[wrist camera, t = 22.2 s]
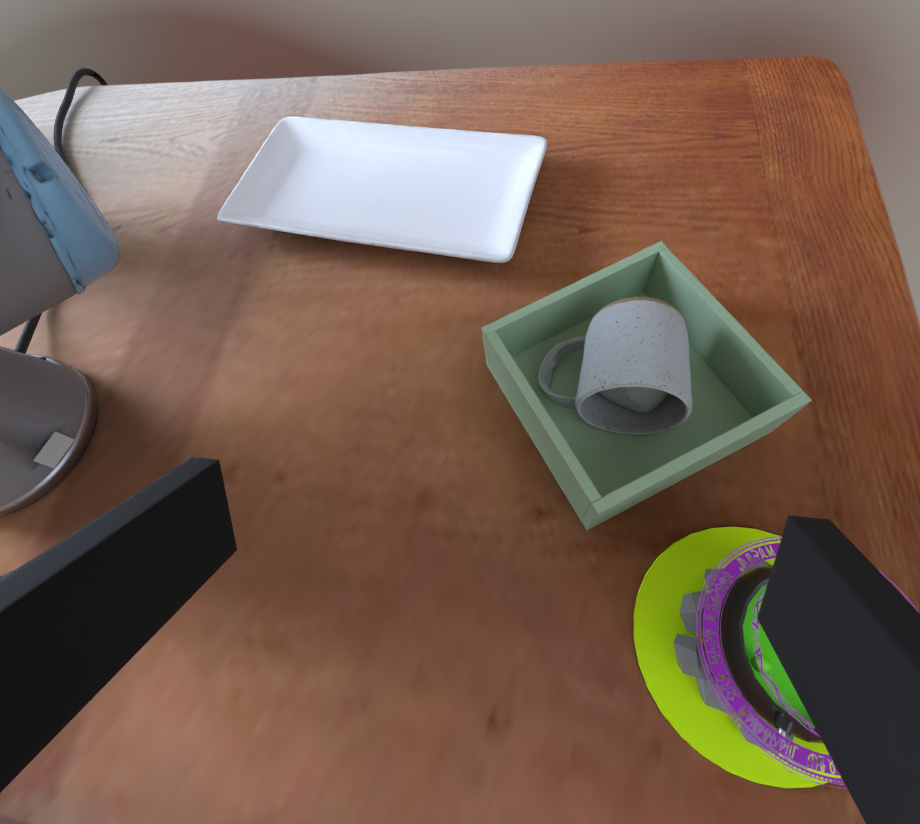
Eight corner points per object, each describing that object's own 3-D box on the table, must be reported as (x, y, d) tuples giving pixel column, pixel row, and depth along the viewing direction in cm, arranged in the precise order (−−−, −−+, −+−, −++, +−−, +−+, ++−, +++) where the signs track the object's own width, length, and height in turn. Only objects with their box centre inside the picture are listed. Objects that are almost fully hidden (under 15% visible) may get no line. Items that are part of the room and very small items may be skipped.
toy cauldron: (835, 856, 26) (1029, 1000, 16) (591, 671, 31) (624, 693, 21) (921, 615, 30) (1120, 611, 20) (694, 486, 35) (762, 431, 25)
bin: (486, 365, 41) (481, 327, 36) (644, 287, 43) (661, 240, 37) (586, 530, 35) (597, 514, 29) (770, 432, 36) (812, 400, 31)
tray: (292, 139, 57) (279, 111, 54) (549, 163, 51) (550, 132, 47) (229, 244, 51) (210, 219, 48) (511, 288, 44) (510, 262, 41)
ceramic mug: (673, 348, 39) (704, 288, 32) (673, 441, 36) (708, 396, 29) (543, 339, 41) (545, 280, 34) (533, 426, 38) (533, 380, 31)
